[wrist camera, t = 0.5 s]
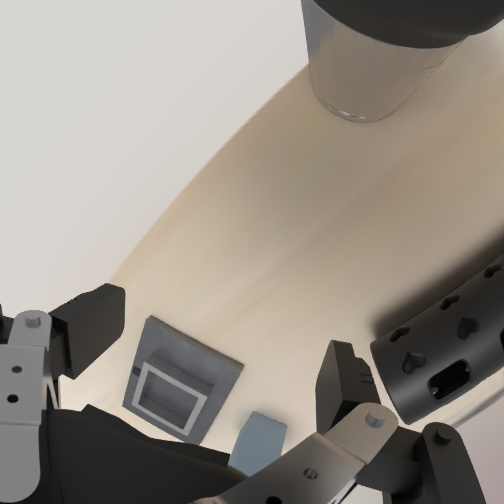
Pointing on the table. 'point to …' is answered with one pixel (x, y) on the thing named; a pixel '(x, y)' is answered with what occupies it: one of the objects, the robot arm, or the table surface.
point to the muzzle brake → (445, 347)
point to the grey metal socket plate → (178, 382)
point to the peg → (257, 444)
